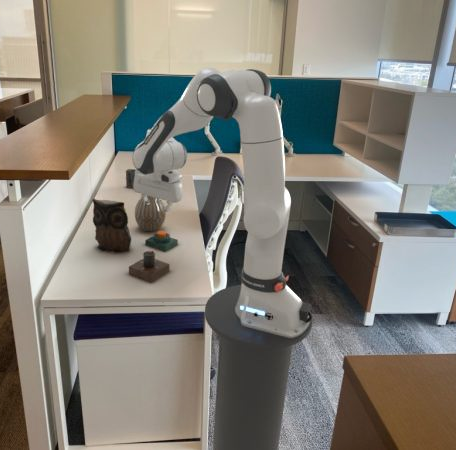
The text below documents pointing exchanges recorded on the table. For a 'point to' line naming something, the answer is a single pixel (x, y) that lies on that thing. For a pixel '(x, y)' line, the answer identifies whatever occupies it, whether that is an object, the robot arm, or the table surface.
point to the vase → (150, 214)
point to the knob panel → (149, 270)
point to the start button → (161, 234)
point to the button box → (162, 242)
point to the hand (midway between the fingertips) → (156, 208)
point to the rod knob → (149, 259)
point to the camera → (130, 178)
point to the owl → (111, 226)
